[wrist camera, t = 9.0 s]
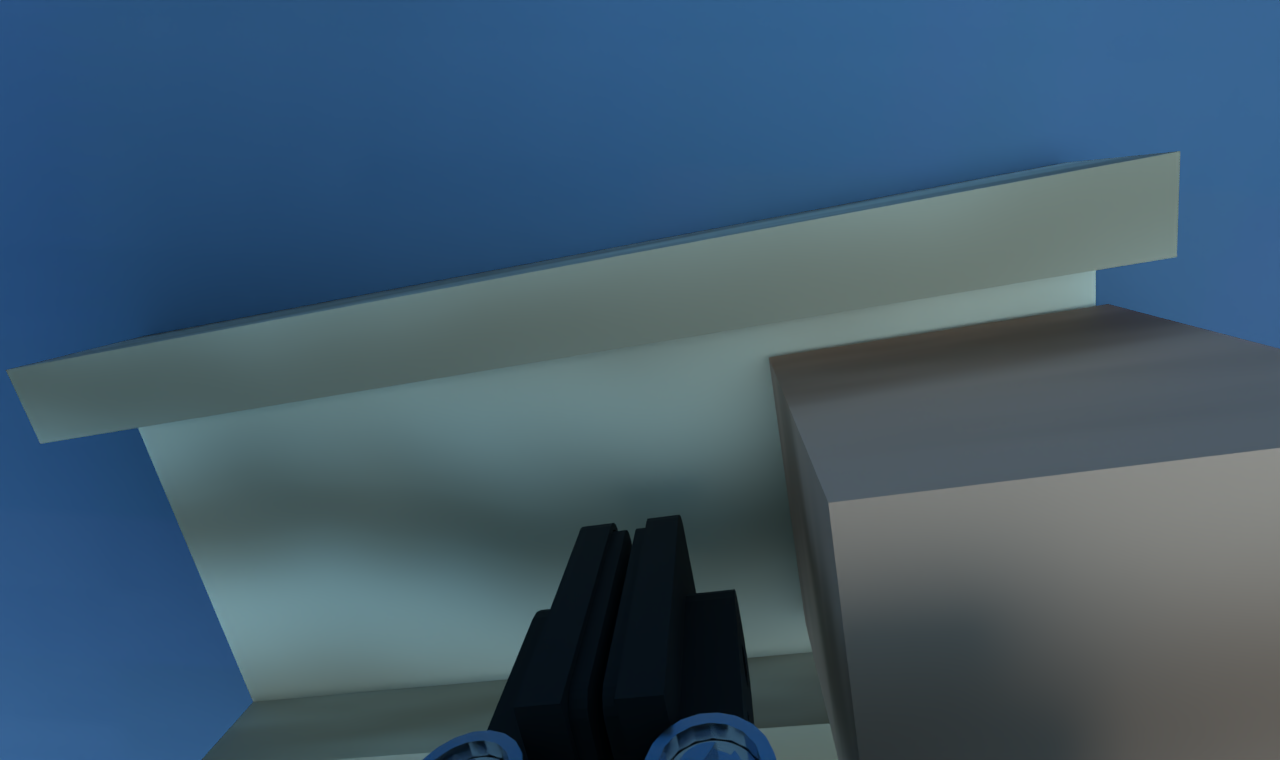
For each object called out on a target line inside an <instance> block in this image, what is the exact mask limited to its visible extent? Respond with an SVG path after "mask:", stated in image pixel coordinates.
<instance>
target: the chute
mask: <svg viewBox="0 0 1280 760" xmlns="http://www.w3.org/2000/svg"><path fill="white" fill-rule="evenodd" d="M1179 172H1180V151H1178V152H1168V153H1158V154H1148V155H1138V156H1128V157H1118V158H1108V159H1098V160H1088V161H1078V162H1068V163H1061V164H1055V165H1050V166H1045V167H1039V168H1034V169H1029V170H1023V171H1018V172H1013V173H1008V174H1002V175H997V176H992V177H986V178H981V179H976V180H970V181H965V182H960V183H954V184H949V185H944V186H939V187H933V188H928V189H923V190H917V191H912V192H907V193H901V194H896V195H891V196H885V197H880V198H875V199H870V200H864V201H859V202H854V203H848V204H843V205H838V206H832V207H827V208H822V209H816V210H811V211H806V212H801V213H795V214H790V215H785V216H779V217H774V218H769V219H763V220H758V221H753V222H747V223H742V224H737V225H732V226H726V227H721V228H716V229H710V230H705V231H700V232H694V233H689V234H684V235H678V236H673V237H668V238H663V239H657V240H652V241H647V242H641V243H636V244H631V245H625V246H620V247H615V248H610V249H604V250H599V251H594V252H588V253H583V254H578V255H572V256H567V257H562V258H556V259H551V260H546V261H541V262H535V263H530V264H525V265H519V266H514V267H509V268H503V269H498V270H493V271H487V272H482V273H477V274H472V275H466V276H461V277H456V278H450V279H445V280H440V281H434V282H429V283H424V284H418V285H413V286H408V287H403V288H397V289H392V290H387V291H381V292H376V293H371V294H365V295H360V296H355V297H349V298H344V299H339V300H334V301H328V302H323V303H318V304H312V305H307V306H302V307H296V308H291V309H286V310H280V311H275V312H270V313H265V314H259V315H254V316H249V317H243V318H238V319H233V320H227V321H222V322H217V323H211V324H206V325H201V326H196V327H190V328H185V329H180V330H174V331H169V332H164V333H158V334H153V335H148V336H143V337H139V338H134V339H130V340H126V341H122V342H118V343H114V344H110V345H106V346H102V347H98V348H94V349H90V350H86V351H82V352H77V353H73V354H69V355H65V356H61V357H57V358H53V359H49V360H45V361H41V362H37V363H33V364H29V365H25V366H20V367H16V368H12V369H8V370H6V371H7V374H8V376H9V378H10V380H11V382H12V384H13V386H14V389H15V391H16V393H17V395H18V397H19V399H20V401H21V403H22V406H23V408H24V410H25V412H26V414H27V416H28V418H29V421H30V423H31V425H32V427H33V429H34V431H35V433H36V436H37V438H38V440H39V442H40V444H42V443H49V442H55V441H61V440H67V439H73V438H79V437H85V436H91V435H97V434H103V433H109V432H115V431H122V430H128V429H134V428H138V429H139V432H140V434H141V436H142V439H143V441H144V443H145V446H146V448H147V451H148V453H149V455H150V458H151V460H152V462H153V465H154V467H155V470H156V472H157V474H158V477H159V479H160V481H161V484H162V486H163V489H164V491H165V493H166V496H167V498H168V500H169V503H170V505H171V508H172V510H173V512H174V515H175V517H176V519H177V522H178V524H179V527H180V529H181V531H182V534H183V536H184V538H185V541H186V543H187V546H188V548H189V550H190V553H191V555H192V557H193V560H194V562H195V565H196V567H197V569H198V572H199V574H200V576H201V579H202V581H203V584H204V586H205V588H206V591H207V593H208V596H209V598H210V600H211V603H212V605H213V607H214V610H215V612H216V615H217V617H218V619H219V622H220V624H221V626H222V629H223V631H224V634H225V636H226V638H227V641H228V643H229V645H230V648H231V650H232V653H233V655H234V657H235V660H236V662H237V664H238V667H239V669H240V672H241V674H242V676H243V679H244V681H245V683H246V686H247V688H248V691H249V693H250V695H251V698H252V700H253V703H252V704H251V705H250V706H249V707H248V708H247V710H246V711H245V712H244V713H243V714H242V715H241V716H240V717H239V719H238V720H237V721H236V722H235V723H234V724H233V725H232V726H231V727H230V729H229V730H228V731H227V732H226V733H225V734H224V735H223V736H222V738H221V739H220V740H219V741H218V742H217V743H216V744H215V745H214V746H213V748H212V749H211V750H210V751H209V752H208V753H207V754H206V755H205V757H204V758H203V759H202V760H423V759H424V758H425V757H426V756H427V755H429V754H430V753H431V752H432V751H434V750H435V749H436V748H437V747H439V746H441V745H443V744H444V743H446V742H448V741H450V740H452V739H453V738H455V737H458V736H461V735H464V734H467V733H471V732H475V731H487V729H488V726H489V724H490V721H491V719H492V717H493V714H494V712H495V709H496V707H497V704H498V702H499V699H500V697H501V695H502V692H503V690H504V687H505V685H506V682H507V680H508V678H509V675H510V673H511V670H512V668H513V665H514V663H515V661H516V658H517V656H518V653H519V651H520V648H521V646H522V643H523V641H524V639H525V636H526V634H527V631H528V629H529V626H530V624H531V622H532V619H533V617H534V616H535V614H536V612H538V611H540V610H545V609H550V608H551V606H552V603H553V600H554V598H555V595H556V592H557V590H558V587H559V584H560V582H561V579H562V576H563V574H564V571H565V569H566V566H567V563H568V561H569V558H570V555H571V553H572V550H573V547H574V545H575V542H576V539H577V537H578V534H579V531H580V529H581V528H582V527H585V526H592V525H600V524H608V523H615V524H616V526H617V529H618V531H621V530H628V532H629V534H630V538H631V542H632V544H633V539H634V534H635V530H636V529H637V528H645V527H646V521H647V519H648V518H656V517H664V516H672V515H680V516H681V519H682V522H683V527H684V532H685V537H686V542H687V548H688V553H689V558H690V563H691V568H692V573H693V579H694V584H695V589H696V593H704V592H713V591H722V590H732V589H735V591H736V595H737V600H738V605H739V611H740V616H741V622H742V628H743V634H744V640H745V646H746V653H747V660H748V668H749V676H750V684H751V694H752V705H753V715H754V725H755V726H756V727H757V728H758V729H759V730H760V731H761V732H762V733H763V734H764V735H765V736H766V737H767V739H768V741H769V743H770V745H771V747H772V749H773V751H774V753H775V757H776V760H838V756H837V752H836V748H835V744H834V739H833V735H832V731H831V727H830V723H829V719H828V715H827V710H826V706H825V702H824V698H823V694H822V690H821V685H820V681H819V677H818V673H817V669H816V665H815V661H814V656H813V652H812V648H811V644H810V640H809V636H808V631H807V627H806V623H805V616H804V609H803V601H802V594H801V587H800V580H799V573H798V565H797V558H796V551H795V544H794V537H793V530H792V522H791V515H790V508H789V501H788V494H787V486H786V479H785V472H784V465H783V458H782V450H781V443H780V436H779V429H778V422H777V414H776V407H775V400H774V393H773V386H772V379H771V371H770V364H769V357H775V356H781V355H788V354H794V353H800V352H807V351H813V350H820V349H826V348H832V347H839V346H845V345H851V344H858V343H864V342H871V341H877V340H883V339H890V338H896V337H902V336H909V335H915V334H922V333H928V332H934V331H941V330H947V329H953V328H960V327H966V326H973V325H979V324H985V323H992V322H998V321H1004V320H1011V319H1017V318H1024V317H1030V316H1036V315H1043V314H1049V313H1055V312H1062V311H1068V310H1075V309H1081V308H1087V307H1094V306H1096V270H1100V269H1107V268H1113V267H1119V266H1125V265H1131V264H1137V263H1143V262H1149V261H1155V260H1161V259H1167V258H1173V257H1177V232H1178V202H1179Z"/></svg>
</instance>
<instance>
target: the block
mask: <svg viewBox="0 0 1280 760" xmlns="http://www.w3.org/2000/svg"><path fill="white" fill-rule="evenodd" d="M769 364H770V371H771V379H772V386H773V393H774V400H775V407H776V414H777V422H778V429H779V436H780V443H781V450H782V458H783V465H784V472H785V479H786V486H787V494H788V501H789V508H790V515H791V522H792V530H793V537H794V544H795V551H796V558H797V565H798V573H799V580H800V587H801V594H802V601H803V609H804V616H805V623H806V627H807V631H808V636H809V640H810V644H811V648H812V652H813V656H814V661H815V665H816V669H817V673H818V677H819V681H820V685H821V690H822V694H823V698H824V702H825V706H826V710H827V715H828V719H829V723H830V727H831V731H832V735H833V739H834V744H835V748H836V752H837V756H838V760H1280V349H1278V348H1274V347H1271V346H1267V345H1263V344H1259V343H1255V342H1251V341H1248V340H1244V339H1240V338H1236V337H1232V336H1228V335H1225V334H1221V333H1217V332H1213V331H1209V330H1205V329H1202V328H1198V327H1194V326H1190V325H1186V324H1182V323H1178V322H1175V321H1171V320H1167V319H1163V318H1159V317H1155V316H1152V315H1148V314H1144V313H1140V312H1136V311H1132V310H1129V309H1125V308H1121V307H1117V306H1113V305H1109V304H1106V305H1100V306H1094V307H1087V308H1081V309H1075V310H1068V311H1062V312H1055V313H1049V314H1043V315H1036V316H1030V317H1024V318H1017V319H1011V320H1004V321H998V322H992V323H985V324H979V325H973V326H966V327H960V328H953V329H947V330H941V331H934V332H928V333H922V334H915V335H909V336H902V337H896V338H890V339H883V340H877V341H871V342H864V343H858V344H851V345H845V346H839V347H832V348H826V349H820V350H813V351H807V352H800V353H794V354H788V355H781V356H775V357H769Z"/></svg>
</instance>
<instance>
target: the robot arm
mask: <svg viewBox="0 0 1280 760" xmlns="http://www.w3.org/2000/svg"><path fill="white" fill-rule="evenodd" d="M423 760H776V757H775V753H774V751H773V749H772V747H771V745H770V743H769V741H768V739H767V737H766V736H765V735H764V734H763V733H762V732H761V731H760V730H759V729H758V728H757V727H756V726H755V725H754V715H753V705H752V694H751V684H750V676H749V668H748V660H747V653H746V646H745V640H744V634H743V628H742V622H741V616H740V611H739V605H738V600H737V595H736V591H735V589H732V590H722V591H713V592H704V593H696V589H695V584H694V579H693V573H692V568H691V563H690V558H689V553H688V548H687V542H686V537H685V532H684V527H683V522H682V519H681V516H680V515H672V516H664V517H656V518H648V519H647V521H646V527H645V528H637V529H636V530H635V534H634V539H633V544H632V542H631V538H630V534H629V532H628V530H621V531H618V529H617V526H616V524H615V523H608V524H600V525H592V526H585V527H582V528H581V529H580V531H579V534H578V537H577V539H576V542H575V545H574V547H573V550H572V553H571V555H570V558H569V561H568V563H567V566H566V569H565V571H564V574H563V576H562V579H561V582H560V584H559V587H558V590H557V592H556V595H555V598H554V600H553V603H552V606H551V608H550V609H545V610H540V611H538V612H536V614H535V616H534V617H533V619H532V622H531V624H530V626H529V629H528V631H527V634H526V636H525V639H524V641H523V643H522V646H521V648H520V651H519V653H518V656H517V658H516V661H515V663H514V665H513V668H512V670H511V673H510V675H509V678H508V680H507V682H506V685H505V687H504V690H503V692H502V695H501V697H500V699H499V702H498V704H497V707H496V709H495V712H494V714H493V717H492V719H491V721H490V724H489V726H488V729H487V731H475V732H471V733H467V734H464V735H461V736H458V737H455V738H453V739H452V740H450V741H448V742H446V743H444V744H443V745H441V746H439V747H437V748H436V749H435V750H434V751H432V752H431V753H430V754H429V755H427V756H426V757H425V758H424V759H423Z"/></svg>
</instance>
